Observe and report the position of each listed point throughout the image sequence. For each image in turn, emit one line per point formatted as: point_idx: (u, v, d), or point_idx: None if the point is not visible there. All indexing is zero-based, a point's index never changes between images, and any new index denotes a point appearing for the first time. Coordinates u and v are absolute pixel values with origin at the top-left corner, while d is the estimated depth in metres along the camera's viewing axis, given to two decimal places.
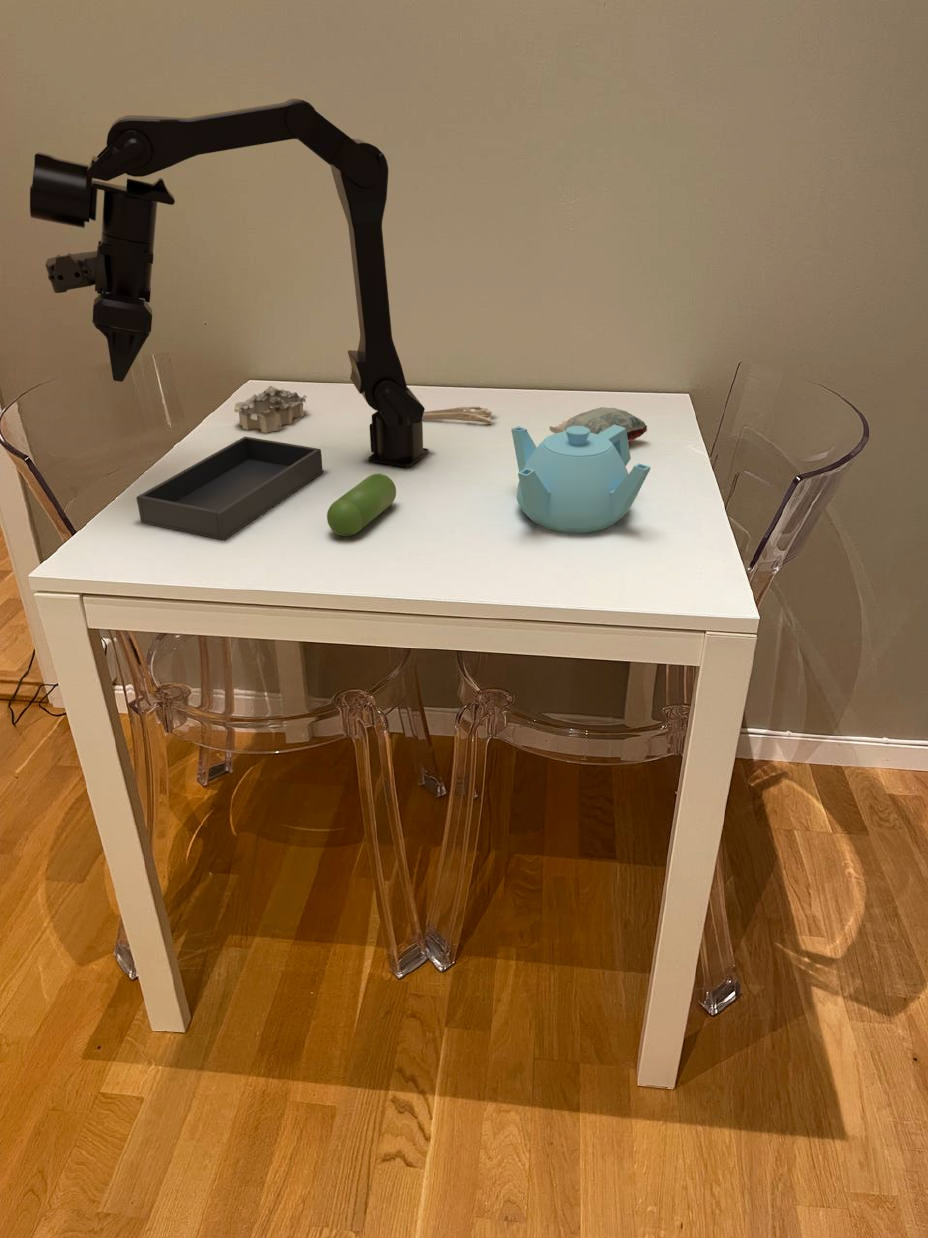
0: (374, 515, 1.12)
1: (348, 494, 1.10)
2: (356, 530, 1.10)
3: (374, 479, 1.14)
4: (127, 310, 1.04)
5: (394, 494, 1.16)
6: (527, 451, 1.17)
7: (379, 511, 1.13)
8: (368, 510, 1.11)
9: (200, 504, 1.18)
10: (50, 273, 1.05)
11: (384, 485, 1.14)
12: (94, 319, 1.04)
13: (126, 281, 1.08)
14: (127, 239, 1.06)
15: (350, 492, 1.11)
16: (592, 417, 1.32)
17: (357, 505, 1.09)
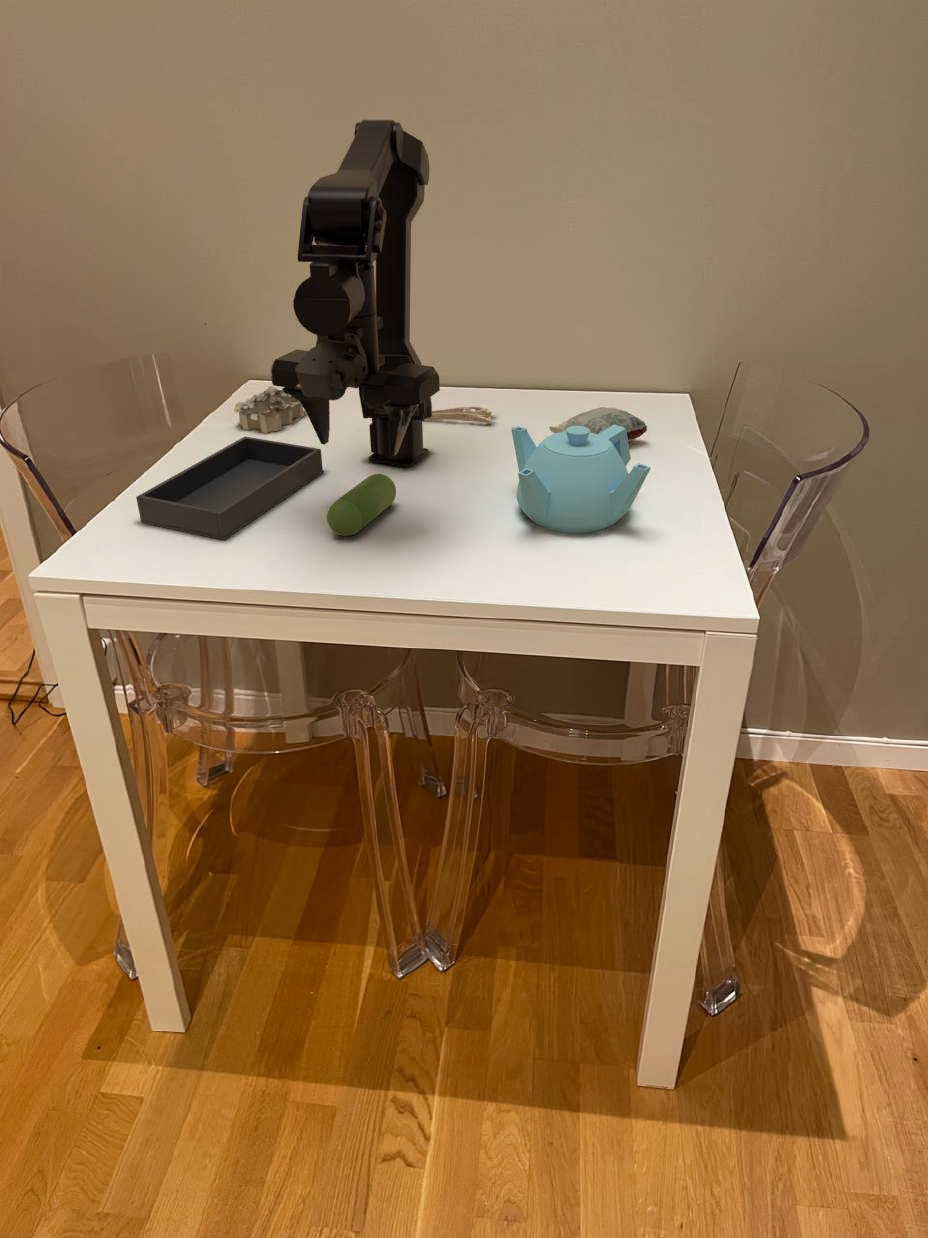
0: (374, 515, 1.12)
1: (348, 494, 1.10)
2: (356, 530, 1.10)
3: (374, 479, 1.14)
4: (430, 377, 1.02)
5: (394, 494, 1.16)
6: (527, 451, 1.17)
7: (379, 511, 1.13)
8: (368, 510, 1.11)
9: (200, 504, 1.18)
10: (342, 381, 0.97)
11: (384, 485, 1.14)
12: (415, 401, 1.00)
13: (376, 354, 1.03)
14: (372, 312, 1.01)
15: (350, 492, 1.11)
16: (592, 417, 1.32)
17: (357, 505, 1.09)
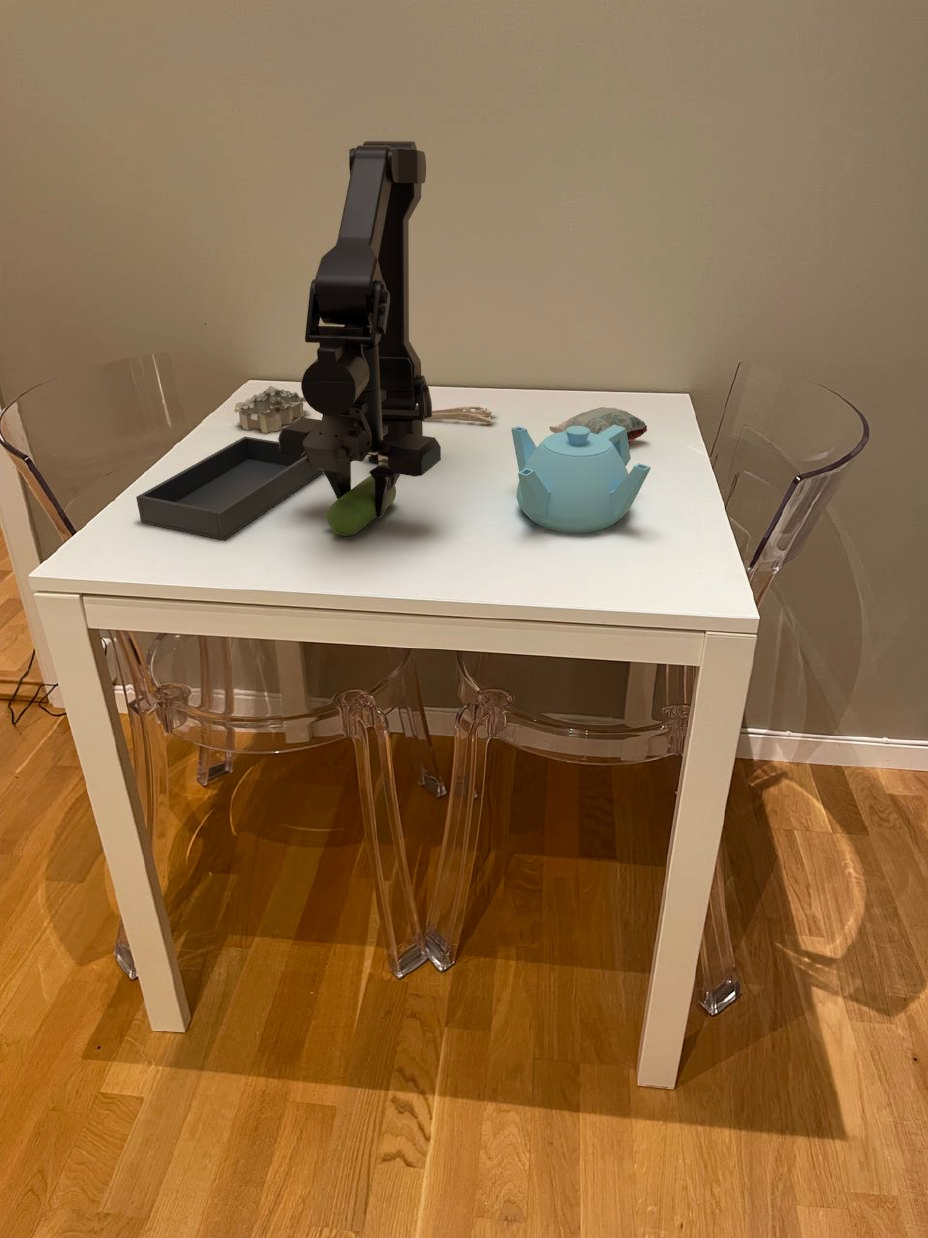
0: (374, 515, 1.12)
1: (348, 494, 1.10)
2: (356, 530, 1.10)
3: None
4: (432, 449, 1.06)
5: (394, 494, 1.16)
6: (527, 451, 1.17)
7: None
8: (368, 510, 1.11)
9: (200, 504, 1.18)
10: (348, 455, 1.01)
11: None
12: (417, 472, 1.05)
13: (379, 426, 1.07)
14: (376, 387, 1.05)
15: (350, 492, 1.11)
16: (592, 417, 1.32)
17: (357, 505, 1.09)
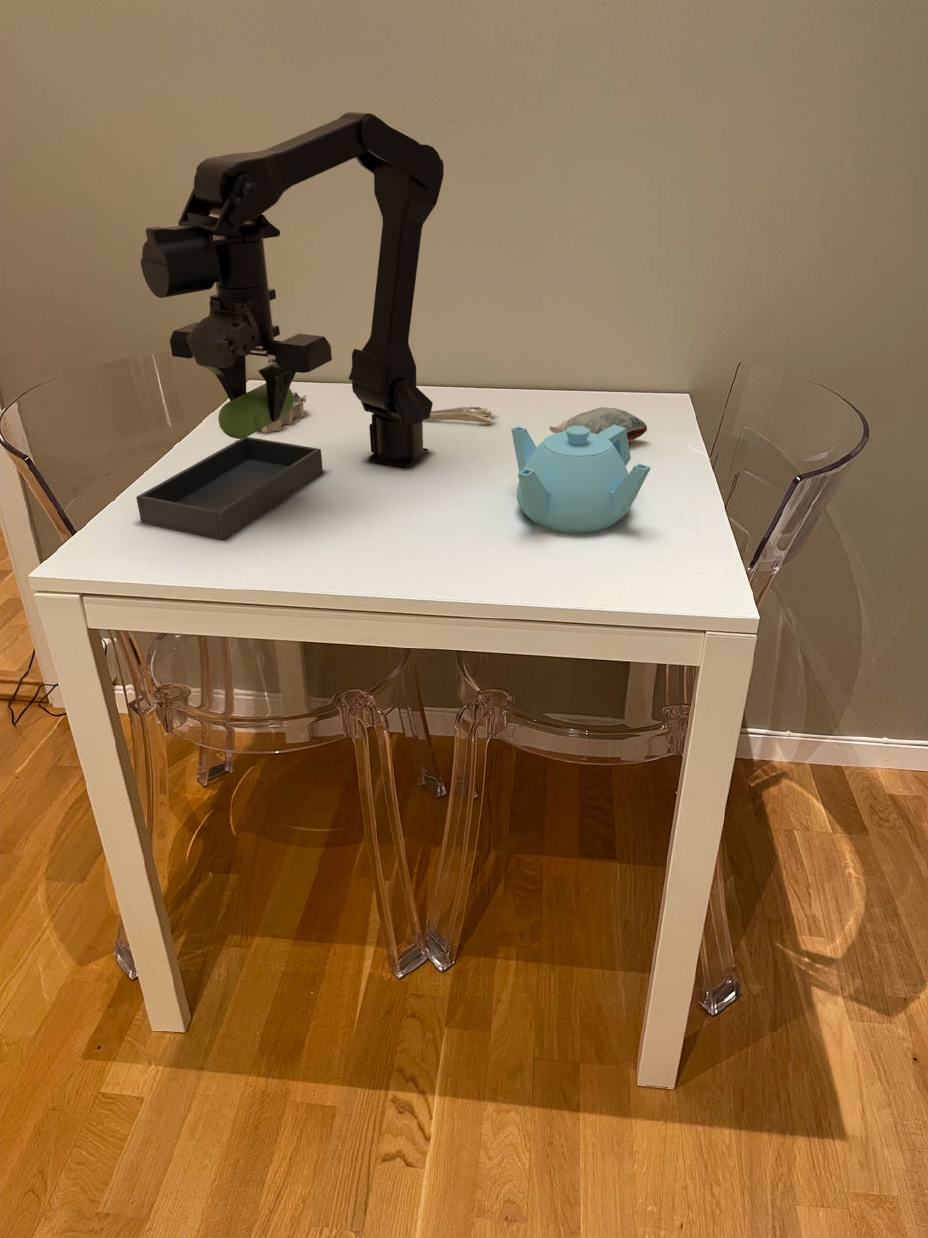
0: (268, 419, 1.12)
1: (240, 396, 1.10)
2: (248, 432, 1.09)
3: None
4: (320, 346, 1.06)
5: (291, 401, 1.15)
6: (527, 451, 1.17)
7: None
8: (261, 413, 1.10)
9: (200, 504, 1.18)
10: (231, 348, 1.01)
11: None
12: (304, 369, 1.04)
13: (268, 325, 1.07)
14: (263, 284, 1.04)
15: (243, 395, 1.10)
16: (592, 417, 1.32)
17: (248, 406, 1.09)
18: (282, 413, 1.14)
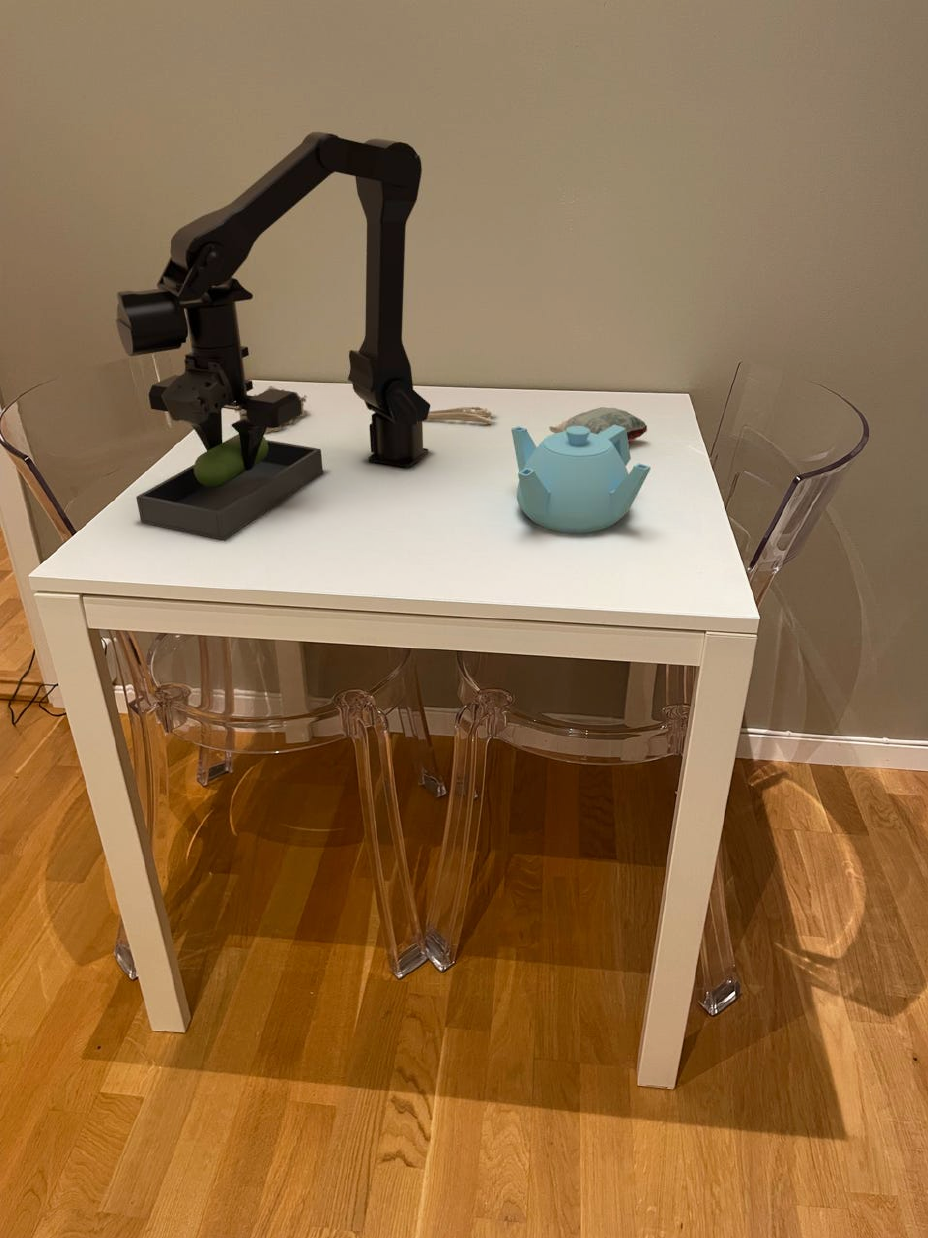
0: (242, 468, 1.17)
1: (215, 447, 1.15)
2: (221, 482, 1.14)
3: None
4: (290, 402, 1.11)
5: (265, 449, 1.21)
6: (527, 451, 1.17)
7: None
8: (235, 463, 1.15)
9: (200, 504, 1.18)
10: (203, 407, 1.06)
11: None
12: (274, 424, 1.09)
13: (241, 381, 1.12)
14: (235, 343, 1.10)
15: (217, 446, 1.16)
16: (592, 417, 1.32)
17: (222, 457, 1.14)
18: (256, 461, 1.20)
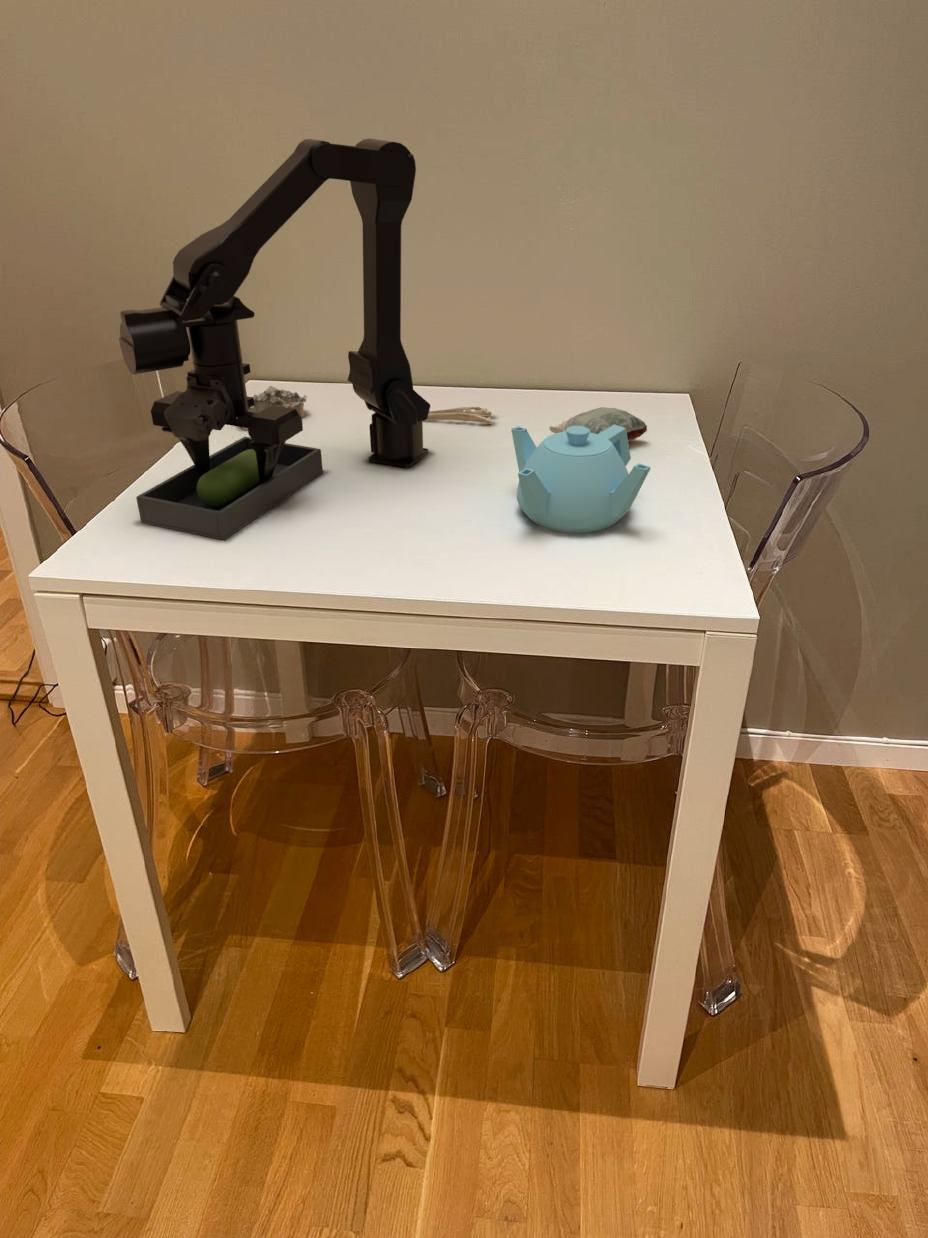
0: (244, 487, 1.18)
1: (217, 467, 1.17)
2: (224, 501, 1.16)
3: (246, 453, 1.21)
4: (291, 419, 1.12)
5: None
6: (527, 451, 1.17)
7: (250, 483, 1.19)
8: (237, 482, 1.17)
9: (200, 504, 1.18)
10: (205, 424, 1.07)
11: (255, 459, 1.20)
12: (275, 441, 1.10)
13: (243, 398, 1.13)
14: (236, 361, 1.11)
15: (219, 465, 1.17)
16: (592, 417, 1.32)
17: (224, 477, 1.15)
18: (258, 480, 1.21)
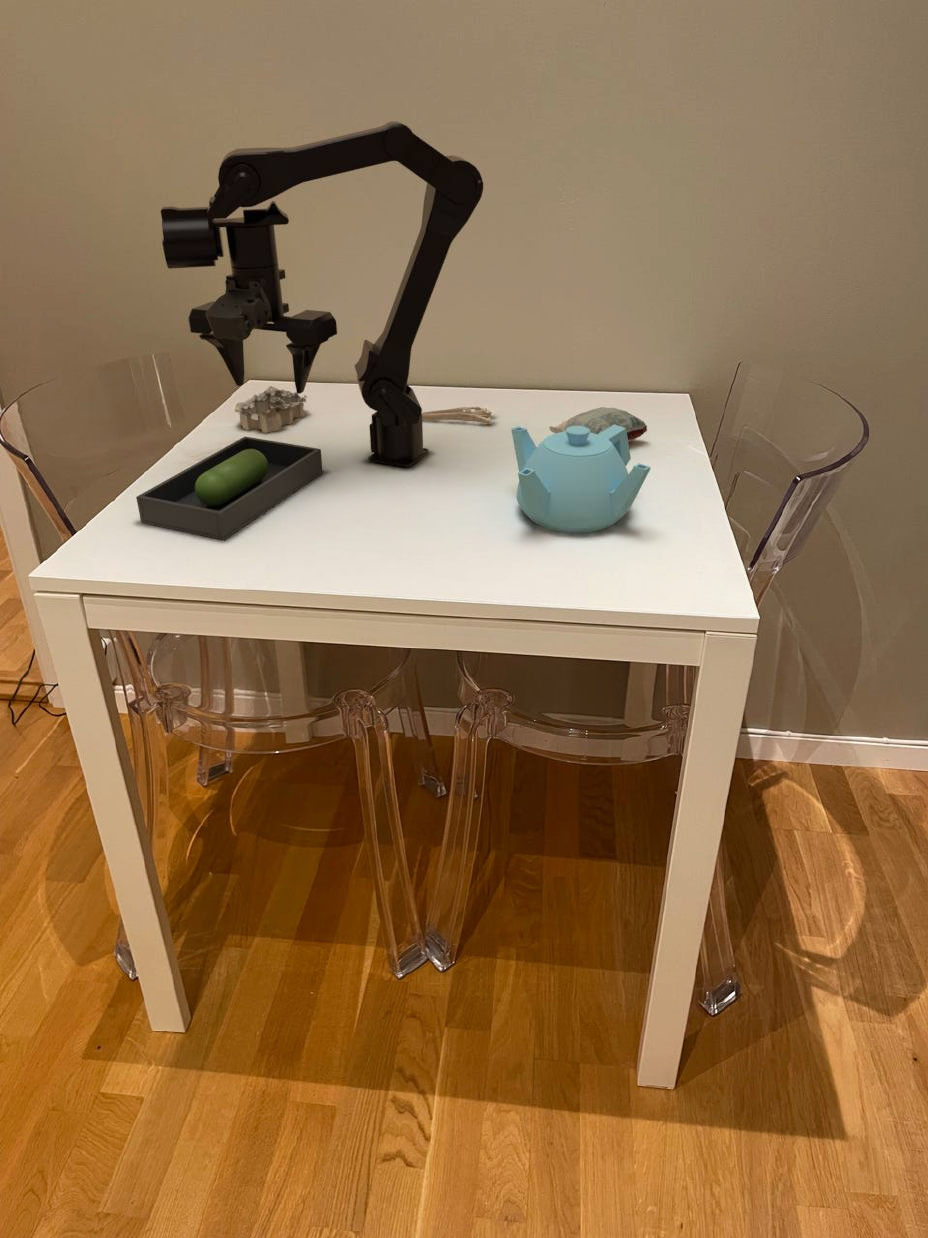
0: (242, 485, 1.18)
1: (214, 467, 1.17)
2: (223, 499, 1.16)
3: (242, 453, 1.21)
4: (327, 321, 1.16)
5: (265, 466, 1.22)
6: (527, 451, 1.17)
7: (248, 481, 1.19)
8: (234, 480, 1.17)
9: (200, 504, 1.18)
10: (246, 322, 1.11)
11: (252, 457, 1.20)
12: (312, 341, 1.14)
13: (279, 302, 1.17)
14: (273, 264, 1.15)
15: None
16: (592, 417, 1.32)
17: (220, 475, 1.15)
18: (257, 478, 1.21)
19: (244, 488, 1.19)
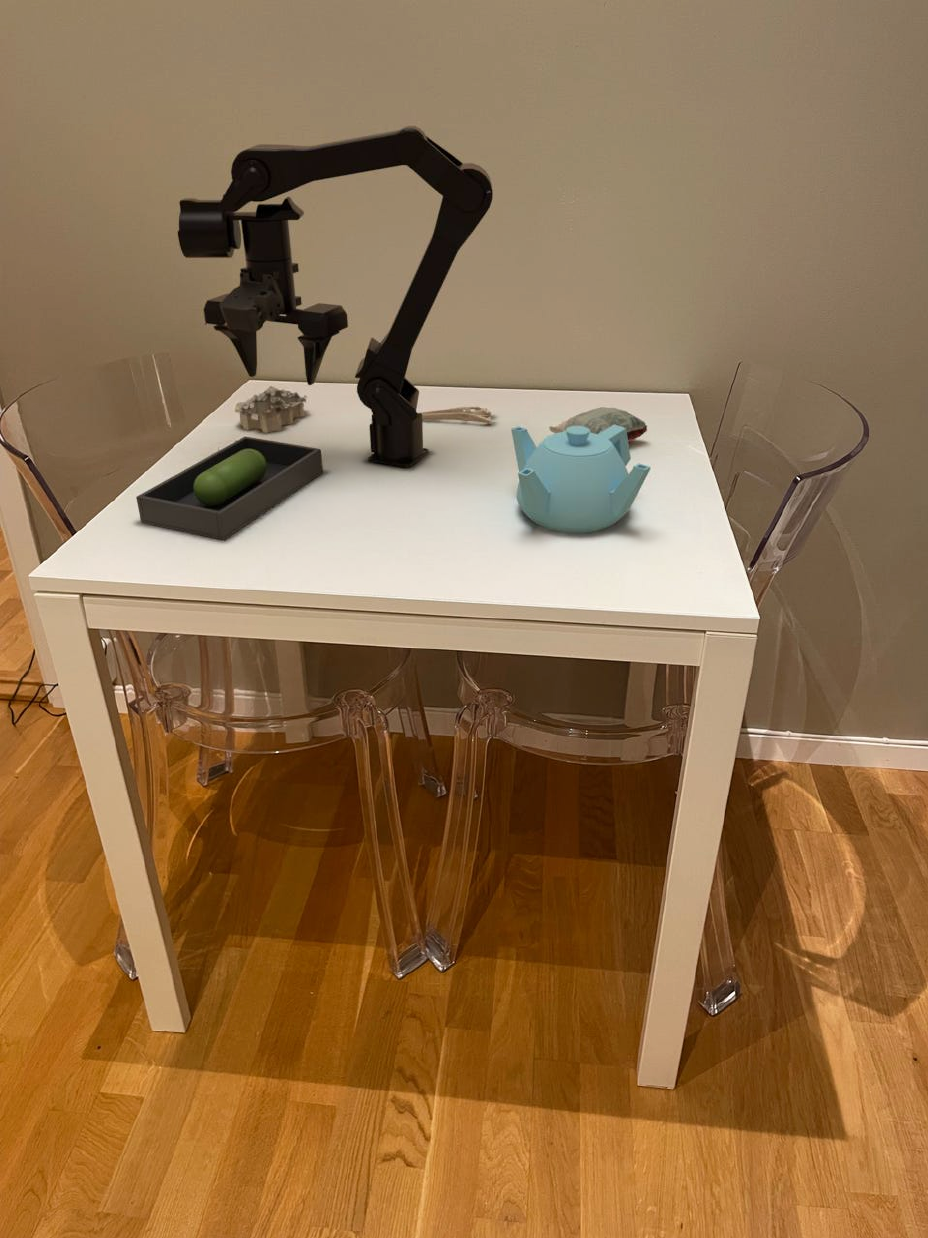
0: (241, 483, 1.18)
1: (211, 467, 1.17)
2: (221, 497, 1.16)
3: (239, 452, 1.21)
4: (338, 314, 1.19)
5: (263, 464, 1.22)
6: (527, 451, 1.17)
7: (247, 479, 1.19)
8: (232, 478, 1.17)
9: (200, 504, 1.18)
10: (259, 314, 1.14)
11: (249, 456, 1.21)
12: (323, 333, 1.17)
13: (292, 295, 1.20)
14: (287, 257, 1.17)
15: (213, 466, 1.18)
16: (592, 417, 1.32)
17: (218, 474, 1.15)
18: (256, 476, 1.21)
19: (243, 486, 1.19)
